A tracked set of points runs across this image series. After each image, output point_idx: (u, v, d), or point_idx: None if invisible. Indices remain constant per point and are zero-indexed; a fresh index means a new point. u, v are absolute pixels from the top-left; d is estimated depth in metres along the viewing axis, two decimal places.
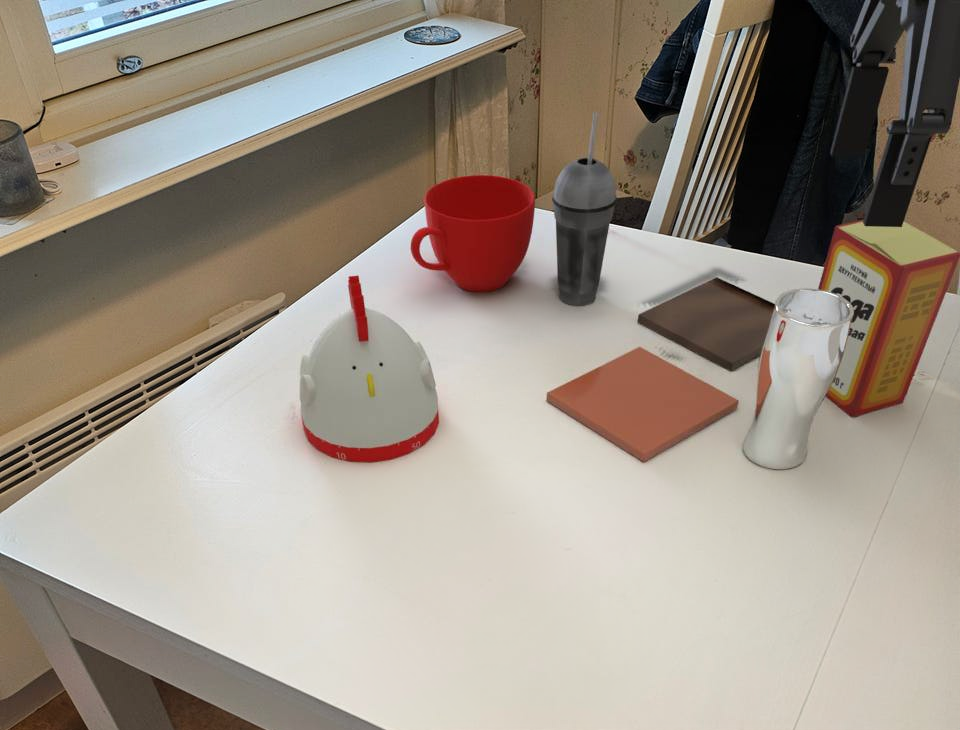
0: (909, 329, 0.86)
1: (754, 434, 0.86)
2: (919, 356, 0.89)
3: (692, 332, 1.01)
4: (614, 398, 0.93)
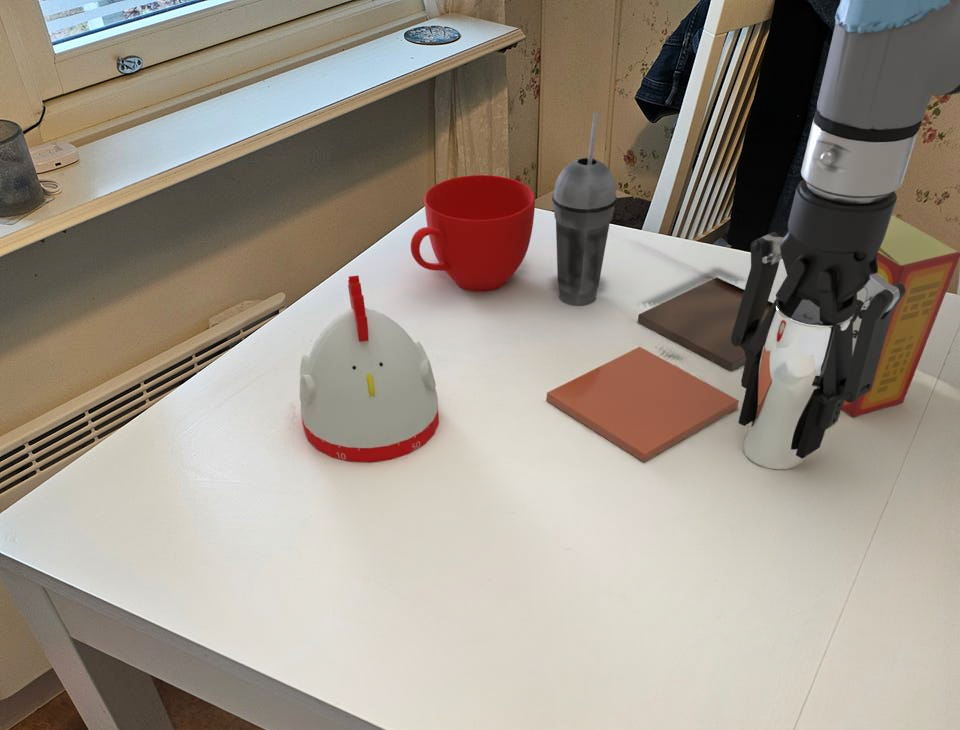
0: (909, 329, 0.86)
1: (754, 434, 0.86)
2: (919, 356, 0.89)
3: (692, 332, 1.01)
4: (614, 398, 0.93)
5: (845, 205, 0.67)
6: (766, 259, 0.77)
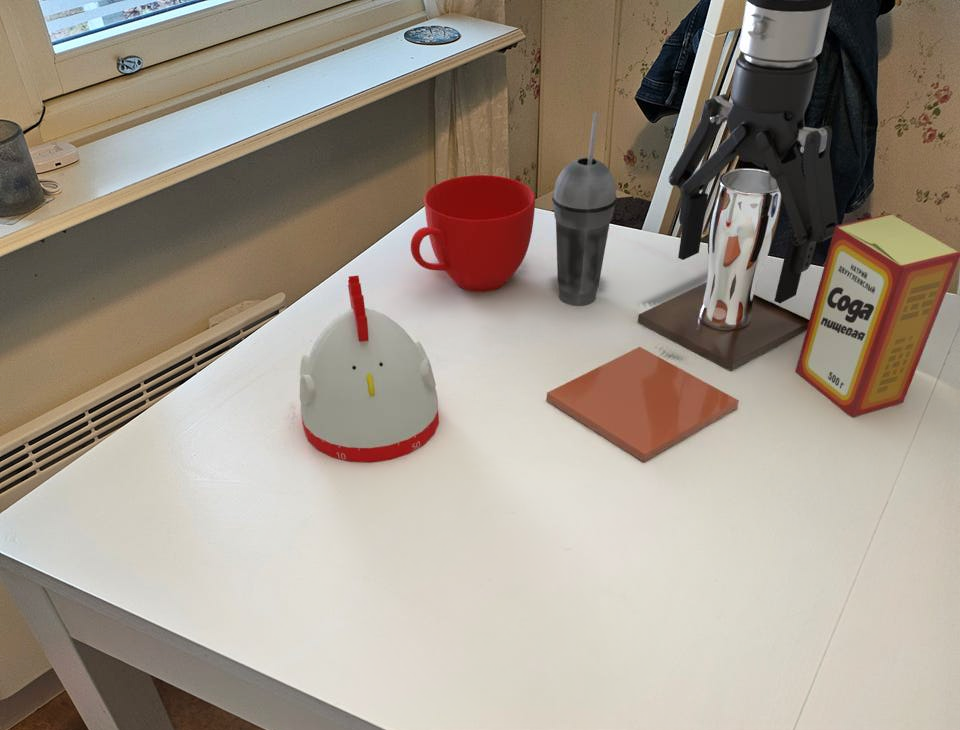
0: (909, 329, 0.86)
1: (706, 300, 1.01)
2: (919, 356, 0.89)
3: (692, 332, 1.01)
4: (614, 398, 0.93)
5: (774, 70, 0.82)
6: (713, 119, 0.91)
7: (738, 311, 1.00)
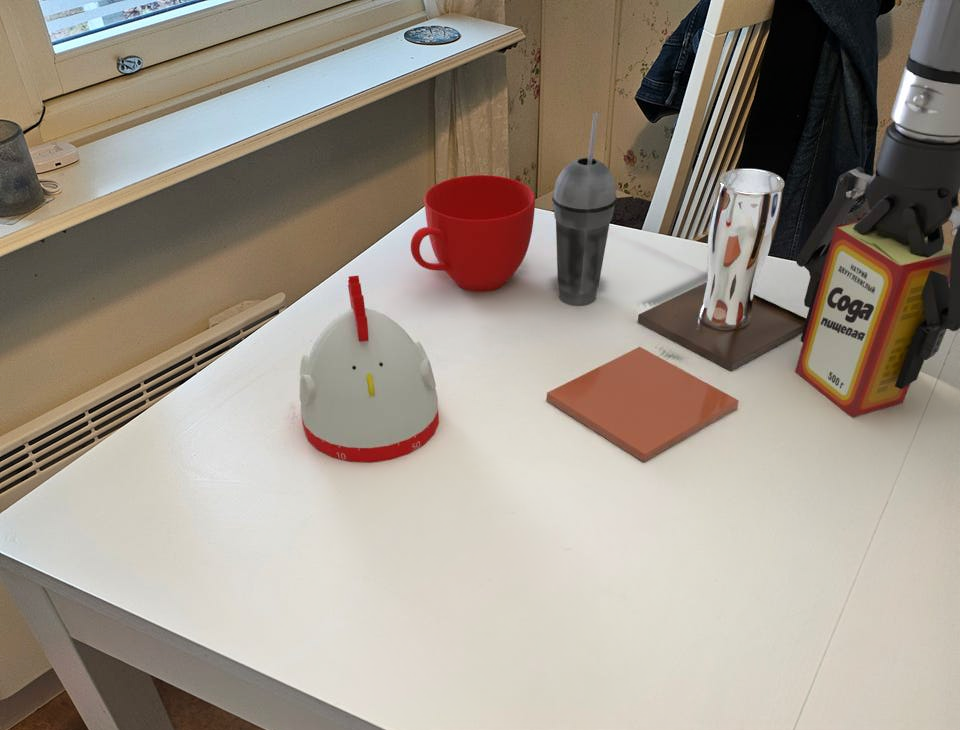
0: (909, 329, 0.86)
1: (706, 300, 1.01)
2: None
3: (692, 332, 1.01)
4: (614, 398, 0.93)
5: (934, 145, 0.75)
6: (850, 194, 0.84)
7: (738, 311, 1.00)
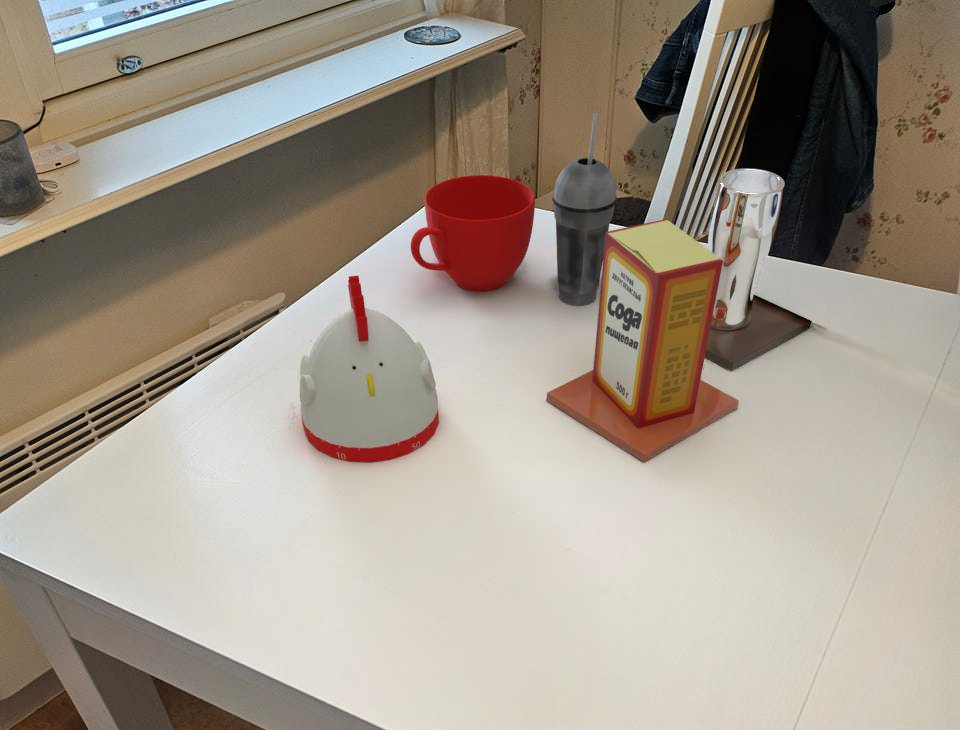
0: (682, 338, 0.83)
1: None
2: (701, 365, 0.87)
3: None
4: None
5: None
6: None
7: (738, 311, 1.00)
